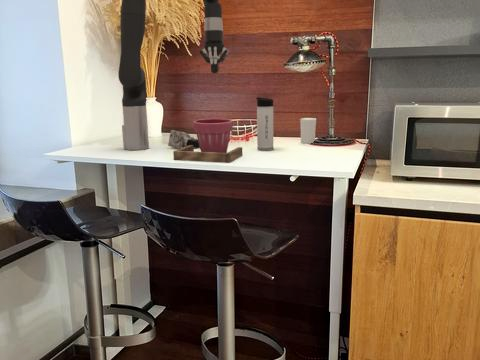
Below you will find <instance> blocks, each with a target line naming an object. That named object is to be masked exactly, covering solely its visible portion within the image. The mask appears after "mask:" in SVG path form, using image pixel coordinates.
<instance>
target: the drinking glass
mask: <svg viewBox="0 0 480 360" xmlns="http://www.w3.org/2000/svg"><path fill="white" fill-rule="evenodd" d="M299 122H300V144H305V145H307V144H308V145H311V143H313V142H314V141H315V142H316V130H317V129H316V128H317V127H316V126H317V118H316V117H315V118H314V117H302V118H300V121H299ZM313 144H314V143H313Z"/></svg>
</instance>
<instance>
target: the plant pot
mask: <svg viewBox="0 0 480 360" xmlns="http://www.w3.org/2000/svg"><path fill="white" fill-rule="evenodd" d="M233 128H234V127H233V120H232V119H229V118H201V119H196V120H194V121H193V131H194V133H196V139H197V140H198V142H199V146H200V148H199V150H200V152H216V153H228V148H229V143H230V137H231V132H232V131H233Z"/></svg>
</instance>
